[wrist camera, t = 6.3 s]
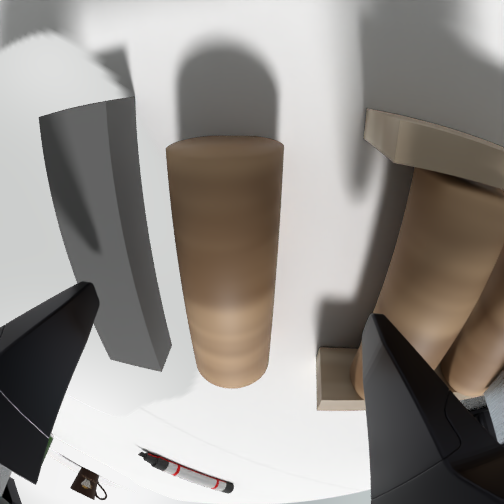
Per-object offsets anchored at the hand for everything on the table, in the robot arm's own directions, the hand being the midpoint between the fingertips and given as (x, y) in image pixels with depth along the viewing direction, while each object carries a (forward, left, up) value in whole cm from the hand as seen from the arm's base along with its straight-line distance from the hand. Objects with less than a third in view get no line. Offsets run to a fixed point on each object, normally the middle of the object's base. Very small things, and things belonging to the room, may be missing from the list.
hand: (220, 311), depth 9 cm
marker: (-35, +7, -4) cm, 36 cm away
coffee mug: (-92, +50, -3) cm, 105 cm away
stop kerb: (0, +5, -3) cm, 6 cm away
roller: (0, 0, -2) cm, 2 cm away
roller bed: (0, -14, -3) cm, 15 cm away
